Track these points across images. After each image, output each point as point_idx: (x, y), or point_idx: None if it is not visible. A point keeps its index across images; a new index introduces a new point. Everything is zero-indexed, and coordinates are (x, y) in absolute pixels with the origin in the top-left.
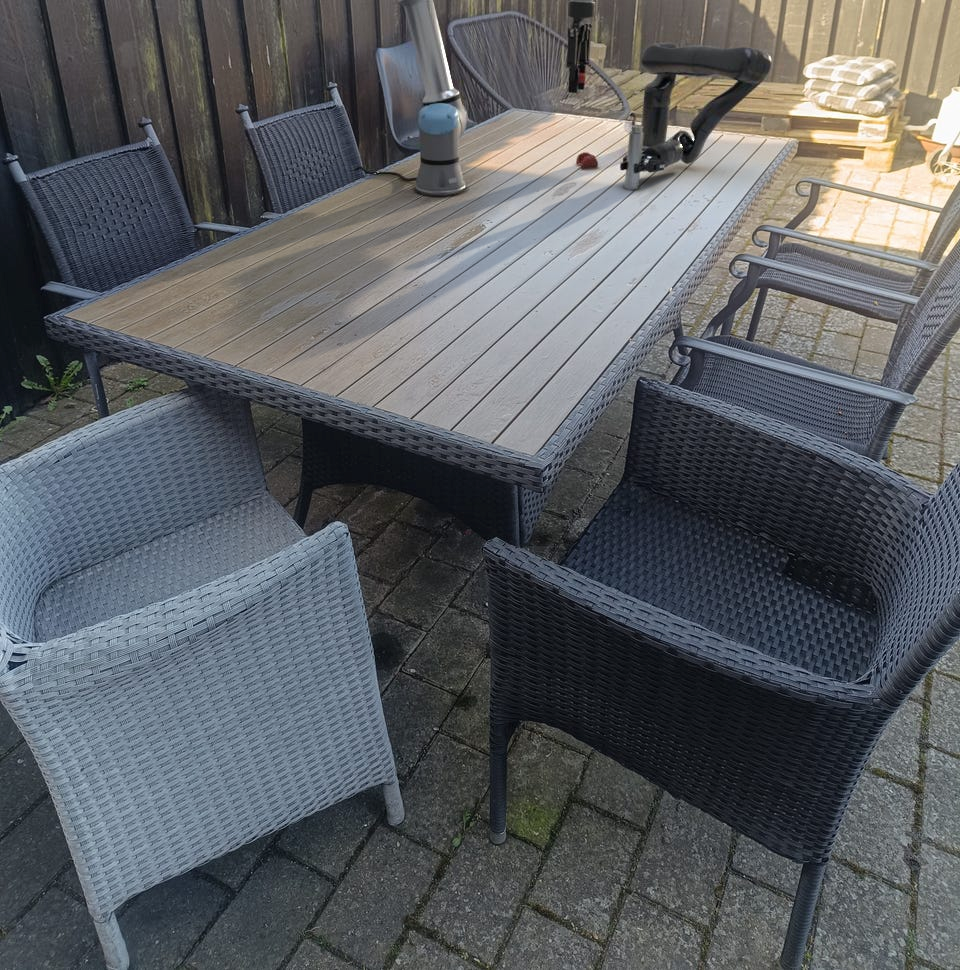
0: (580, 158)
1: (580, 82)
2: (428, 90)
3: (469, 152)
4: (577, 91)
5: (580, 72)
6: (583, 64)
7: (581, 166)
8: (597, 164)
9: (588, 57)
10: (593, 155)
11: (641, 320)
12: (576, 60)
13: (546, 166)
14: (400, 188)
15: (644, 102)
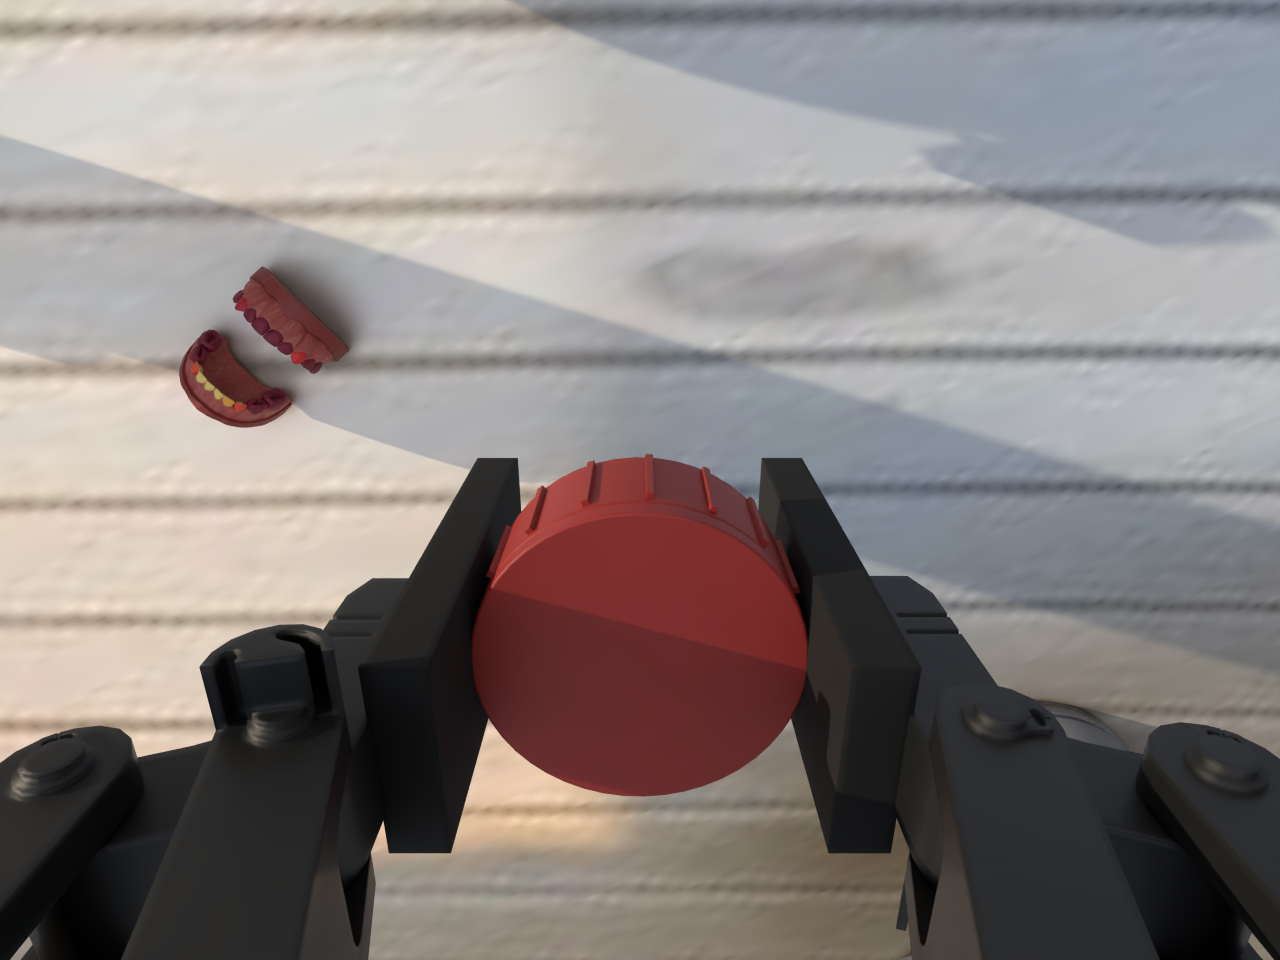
0: (270, 396)
1: (738, 496)
2: None
3: (406, 916)
4: (779, 464)
5: (473, 663)
6: (366, 738)
7: (343, 354)
8: (265, 268)
9: (42, 811)
10: (247, 310)
11: None
12: (1113, 875)
13: (416, 543)
14: None
15: None
